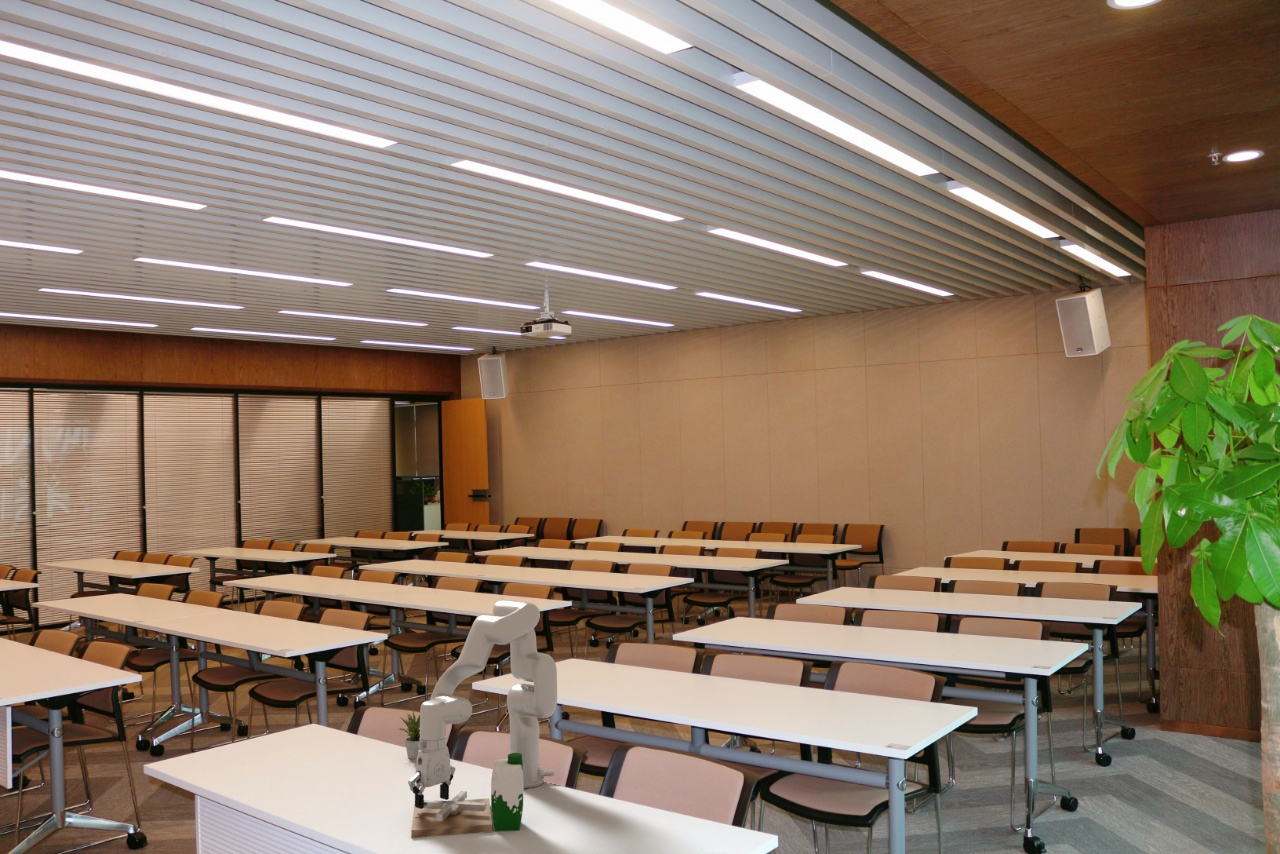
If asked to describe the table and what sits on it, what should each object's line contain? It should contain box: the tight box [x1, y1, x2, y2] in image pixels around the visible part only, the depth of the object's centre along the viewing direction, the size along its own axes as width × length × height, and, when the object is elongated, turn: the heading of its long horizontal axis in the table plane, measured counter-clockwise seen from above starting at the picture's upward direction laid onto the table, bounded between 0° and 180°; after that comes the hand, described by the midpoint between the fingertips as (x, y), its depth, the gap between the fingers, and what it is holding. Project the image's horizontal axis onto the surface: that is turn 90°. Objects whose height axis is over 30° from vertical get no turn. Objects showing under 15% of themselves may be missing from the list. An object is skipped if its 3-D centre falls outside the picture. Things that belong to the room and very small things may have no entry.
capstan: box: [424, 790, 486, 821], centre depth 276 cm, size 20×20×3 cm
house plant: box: [397, 710, 420, 760], centre depth 339 cm, size 14×14×16 cm
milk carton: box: [490, 753, 524, 832], centre depth 272 cm, size 9×9×20 cm
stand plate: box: [410, 798, 493, 839], centre depth 276 cm, size 22×22×2 cm
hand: (431, 803), depth 280 cm, fingers open, 9 cm apart
